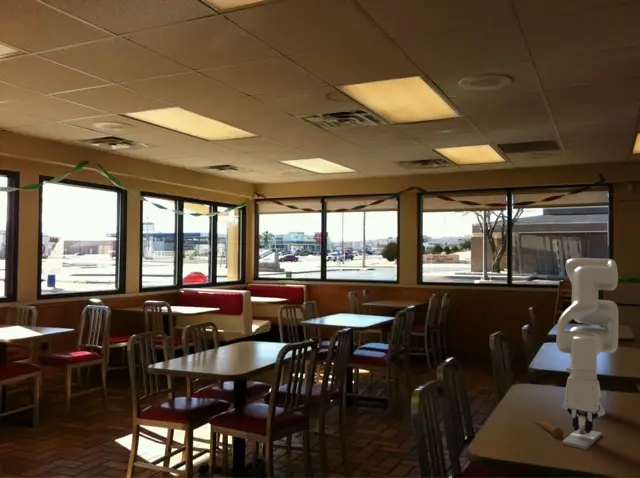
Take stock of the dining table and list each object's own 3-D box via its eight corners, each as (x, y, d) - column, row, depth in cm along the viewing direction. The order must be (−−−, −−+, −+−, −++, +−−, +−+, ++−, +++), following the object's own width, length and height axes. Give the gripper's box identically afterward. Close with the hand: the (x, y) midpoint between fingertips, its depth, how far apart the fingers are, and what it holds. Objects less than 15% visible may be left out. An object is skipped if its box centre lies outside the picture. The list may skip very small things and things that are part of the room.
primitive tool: (530, 421, 205) (531, 411, 205) (545, 421, 205) (546, 411, 205) (553, 439, 186) (553, 428, 186) (569, 440, 186) (570, 429, 186)
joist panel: (579, 430, 194) (579, 427, 194) (601, 435, 190) (601, 432, 190) (562, 444, 180) (562, 440, 180) (586, 449, 176) (586, 445, 176)
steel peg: (578, 430, 187) (579, 406, 187) (589, 433, 185) (589, 408, 185) (575, 433, 185) (576, 408, 185) (586, 435, 183) (586, 410, 183)
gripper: (553, 372, 188) (552, 428, 187) (608, 380, 177) (607, 440, 177) (561, 368, 193) (560, 423, 193) (614, 376, 183) (613, 434, 183)
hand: (582, 430), depth 185 cm, fingers closed on steel peg, 3 cm apart
